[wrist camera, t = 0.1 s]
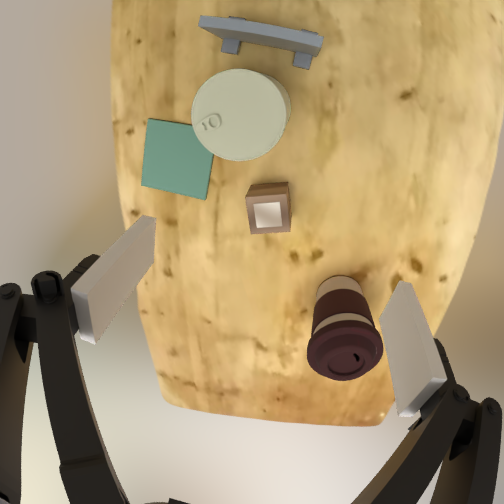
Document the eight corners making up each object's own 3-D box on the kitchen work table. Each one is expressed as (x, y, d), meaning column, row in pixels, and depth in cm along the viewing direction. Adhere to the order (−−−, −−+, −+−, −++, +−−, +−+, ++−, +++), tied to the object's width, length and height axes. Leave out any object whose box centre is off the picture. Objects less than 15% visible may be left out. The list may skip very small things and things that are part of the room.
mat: (149, 118, 40) (148, 119, 40) (218, 130, 40) (217, 130, 40) (143, 184, 45) (141, 185, 45) (206, 198, 45) (205, 200, 45)
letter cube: (251, 185, 43) (245, 197, 39) (287, 181, 42) (286, 194, 38) (256, 218, 46) (250, 234, 41) (291, 216, 45) (290, 232, 40)
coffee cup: (304, 314, 53) (301, 385, 40) (312, 263, 48) (313, 333, 35) (361, 319, 52) (372, 389, 39) (375, 270, 47) (395, 339, 34)
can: (209, 86, 37) (175, 88, 27) (277, 63, 35) (268, 54, 24) (232, 150, 41) (208, 174, 31) (300, 130, 39) (299, 148, 28)
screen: (226, 17, 32) (204, -1, 24) (321, 35, 32) (327, 19, 23) (218, 51, 35) (194, 43, 26) (312, 70, 34) (316, 65, 26)
